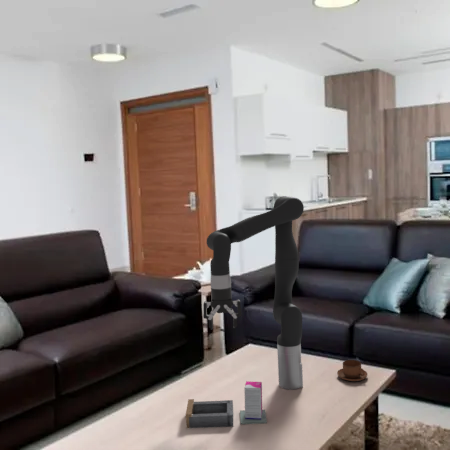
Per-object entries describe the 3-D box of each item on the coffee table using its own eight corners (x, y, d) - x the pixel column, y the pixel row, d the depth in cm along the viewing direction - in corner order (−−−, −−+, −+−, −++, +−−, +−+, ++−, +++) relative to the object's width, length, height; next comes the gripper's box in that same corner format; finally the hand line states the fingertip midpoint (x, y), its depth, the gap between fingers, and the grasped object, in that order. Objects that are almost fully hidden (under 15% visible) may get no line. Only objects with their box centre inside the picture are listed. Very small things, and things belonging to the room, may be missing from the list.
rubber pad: (265, 411, 189) (265, 409, 189) (266, 423, 180) (266, 421, 180) (240, 412, 189) (240, 410, 189) (240, 424, 180) (240, 422, 180)
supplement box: (261, 419, 181) (260, 388, 180) (244, 419, 182) (243, 387, 181) (263, 412, 187) (261, 381, 185) (246, 411, 188) (245, 380, 186)
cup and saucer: (371, 375, 216) (371, 360, 216) (362, 385, 206) (361, 370, 205) (343, 370, 223) (342, 356, 222) (332, 380, 213) (332, 365, 212)
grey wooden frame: (233, 410, 190) (232, 397, 190) (233, 426, 179) (232, 412, 178) (189, 412, 191) (188, 399, 190) (186, 428, 179) (185, 414, 178)
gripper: (239, 282, 199) (241, 324, 200) (202, 284, 198) (204, 326, 200) (240, 287, 191) (242, 330, 193) (201, 289, 191) (203, 332, 193)
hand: (223, 328), depth 197 cm, fingers open, 8 cm apart
